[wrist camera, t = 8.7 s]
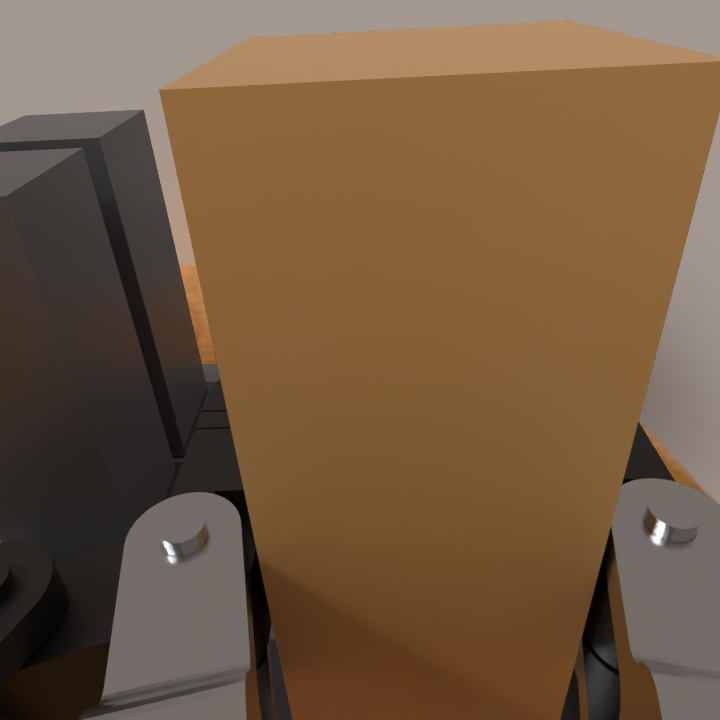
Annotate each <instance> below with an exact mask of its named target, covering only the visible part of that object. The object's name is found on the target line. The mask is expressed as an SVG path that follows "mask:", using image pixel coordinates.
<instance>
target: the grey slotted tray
mask: <svg viewBox="0 0 720 720" xmlns="http://www.w3.org/2000/svg"><path fill="white" fill-rule="evenodd" d="M219 379H220V375H219V370H218V365H217V364H204V365H202V363H201V359H200V355H199V350H198V346H197V341H196V337H195V333H194V328H193V324H192V320H191V315H190V311H189V306H188V302H187V298H186V293H185V289H184V285H183V280H182V276H181V271H180V267H179V263H178V258H177V254H176V250H175V245H174V241H173V237H172V232H171V228H170V223H169V219H168V215H167V210H166V206H165V202H164V197H163V193H162V189H161V184H160V180H159V175H158V171H157V167H156V162H155V158H154V153H153V149H152V145H151V141H150V136H149V131H148V127H147V123H146V118H145V114H144V110H129V111H109V112H89V113H69V114H51V115H50V114H49V115H29V116H23V117H21V118H19V119H16V120H14V121H11V122H9V123H7V124H5V125H2V126H0V542H5V541H13V540H23V541H30V542H34V543H36V544H39V545H41V546H42V547H43V548H45V549H46V550H47V551H48V553H49V555H50V556H51V558H52V560H53V562H54V564H58V563H61V562H65V561H68V560H72V559H75V558H78V557H82V556H85V555H89V554H92V553H96V552H99V551H103V550H106V549H109V548H112V547H115V546H117V545H119V544H122V543H124V542H125V540H126V537H127V535H128V533H129V531H130V529H131V527H132V526H133V525H134V523H135V522H136V521H137V520H138V519H139V518H140V516H141V515H143V514H144V513H145V512H146V511H147V510H149V509H150V508H152V507H153V506H155V505H156V504H158V503H160V502H162V501H164V500H166V499H168V498H169V497H170V495H171V492H172V489H173V486H174V484H175V481H176V478H177V476H178V473H179V470H180V467H181V465H182V462H183V459H184V457H185V454H186V451H187V448H188V446H189V443H190V440H191V438H192V435H193V433H194V432H195V427H196V424H197V421H198V419H199V416H200V415H202V411H201V410H202V408H203V405H204V402H205V400H206V397H207V394H208V391H209V389H210V388H211V387H212V386H213V385H214V384H215V383H216V382H217V381H218V380H219ZM268 644H269V649H270V656H271V666H272V676H273V687H274V697H275V707H276V717H277V720H292V715H291V710H290V706H289V701H288V696H287V691H286V687H285V682H284V677H283V673H282V668H281V663H280V658H279V654H278V649H277V644H276V639H275V635H274V630H273V625H272V624H271V631H270V638H269V642H268ZM560 720H581V717H580V704H579V690H578V677H577V663H576V661H575V665H574V669H573V673H572V677H571V680H570V684H569V688H568V692H567V696H566V699H565V703H564V707H563V711H562V715H561V718H560Z"/></svg>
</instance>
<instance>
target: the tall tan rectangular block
mask: <svg viewBox="0 0 720 720" xmlns="http://www.w3.org/2000/svg"><path fill="white" fill-rule="evenodd" d="M159 91H160V96H161V101H162V105H163V110H164V115H165V120H166V125H167V129H168V134H169V139H170V143H171V148H172V153H173V157H174V162H175V166H176V172H177V176H178V181H179V185H180V191H181V195H182V200H183V205H184V209H185V214H186V219H187V223H188V228H189V233H190V238H191V242H192V247H193V252H194V257H195V262H196V266H197V271H198V276H199V280H200V285H201V290H202V295H203V299H204V304H205V309H206V313H207V318H208V323H209V328H210V332H211V337H212V342H213V347H214V351H215V356H216V361H217V365H218V370H219V375H220V380H221V384H222V389H223V394H224V399H225V403H226V408H227V413H228V417H229V422H230V427H231V432H232V436H233V441H234V446H235V450H236V455H237V460H238V465H239V469H240V474H241V479H242V484H243V488H244V493H245V498H246V502H247V507H248V512H249V517H250V521H251V526H252V531H253V536H254V540H255V545H256V550H257V554H258V559H259V564H260V569H261V573H262V578H263V583H264V587H265V592H266V597H267V602H268V606H269V611H270V616H271V621H272V625H273V630H274V635H275V639H276V644H277V649H278V654H279V658H280V663H281V668H282V673H283V677H284V682H285V687H286V691H287V696H288V701H289V706H290V710H291V715H292V720H560V718H561V715H562V711H563V707H564V703H565V699H566V696H567V692H568V688H569V684H570V680H571V677H572V673H573V669H574V665H575V661H576V657H577V654H578V650H579V646H580V642H581V638H582V635H583V631H584V627H585V623H586V619H587V616H588V612H589V608H590V604H591V600H592V597H593V593H594V589H595V585H596V581H597V577H598V574H599V570H600V566H601V562H602V558H603V555H604V551H605V547H606V543H607V539H608V536H609V532H610V528H611V524H612V520H613V517H614V513H615V509H616V505H617V501H618V497H619V494H620V490H621V486H622V482H623V478H624V475H625V471H626V467H627V463H628V459H629V456H630V452H631V448H632V444H633V440H634V437H635V433H636V429H637V425H638V421H639V417H640V413H641V410H642V406H643V402H644V398H645V394H646V391H647V387H648V383H649V379H650V376H651V372H652V368H653V364H654V360H655V357H656V353H657V349H658V345H659V341H660V337H661V334H662V330H663V326H664V322H665V318H666V315H667V310H668V307H669V303H670V299H671V296H672V292H673V288H674V284H675V280H676V276H677V273H678V269H679V265H680V261H681V257H682V254H683V249H684V246H685V242H686V238H687V235H688V231H689V227H690V223H691V219H692V215H693V212H694V208H695V204H696V200H697V197H698V193H699V189H700V185H701V181H702V177H703V174H704V170H705V166H706V162H707V158H708V155H709V151H710V147H711V143H712V139H713V136H714V132H715V128H716V124H717V120H718V117H719V113H720V57H716V56H712V55H708V54H703V53H699V52H695V51H691V50H687V49H682V48H678V47H674V46H670V45H665V44H661V43H657V42H653V41H649V40H645V39H641V38H636V37H632V36H628V35H623V34H620V33H615V32H611V31H607V30H603V29H599V28H595V27H590V26H586V25H582V24H578V23H574V22H570V21H556V22H537V23H520V24H519V23H518V24H500V25H482V26H464V27H463V26H462V27H445V28H444V27H443V28H427V29H426V28H425V29H407V30H387V31H369V32H350V33H331V34H312V35H293V36H275V37H258V38H257V37H256V38H248V39H246V40H245V41H243V42H241V43H239V44H238V45H236V46H234V47H232V48H231V49H229V50H227V51H226V52H224V53H222V54H221V55H219V56H217V57H215V58H214V59H212V60H210V61H208V62H207V63H205V64H203V65H201V66H200V67H198V68H196V69H195V70H193V71H191V72H189V73H188V74H186V75H184V76H182V77H181V78H179V79H177V80H175V81H174V82H172V83H170V84H169V85H167V86H165V87H163V88H162V89H160V90H159Z"/></svg>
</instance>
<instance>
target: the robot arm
mask: <svg viewBox="0 0 720 720" xmlns="http://www.w3.org/2000/svg"><path fill="white" fill-rule="evenodd" d="M201 411H202V415H200V416H199V419H198V421H197V424H196V427H195V432H194V433H193V435H192V438H191V440H190V443H189V446H188V448H187V451H186V454H185V457H184V459H183V462H182V465H181V467H180V470H179V473H178V476H177V478H176V481H175V484H174V486H173V489H172V492H171V495H170V497H169V498H168V499H166V500H164V501H162V502H160V503H158V504H156V505H155V506H153V507H152V508H150V509H149V510H147V511H146V512H145V513H144V514H143V515H141V516H140V518H139V519H138V520H137V521H136V522H135V523H134V525H133V526H132V527H131V529H130V531H129V533H128V535H127V537H126V540H125V542H124V543H122V544H119V545H117V546H115V547H112V548H109V549H106V550H103V551H99V552H96V553H92V554H89V555H85V556H82V557H78V558H75V559H72V560H68V561H65V562H61V563H58V564H54V562H53V560H52V558H51V556H50V555H49V553H48V551H47V550H46V549H45V548H43V547H42V546H41V545H39V544H36V543H34V542H30V541H23V540H13V541H5V542H0V720H277V717H276V707H275V697H274V687H273V676H272V666H271V656H270V649H269V644H268V642H269V638H270V631H271V624H272V621H271V616H270V611H269V606H268V602H267V597H266V592H265V587H264V583H263V578H262V573H261V569H260V564H259V559H258V554H257V550H256V545H255V540H254V536H253V531H252V526H251V521H250V517H249V512H248V507H247V502H246V498H245V493H244V488H243V484H242V479H241V474H240V469H239V465H238V460H237V455H236V450H235V446H234V441H233V436H232V432H231V427H230V422H229V417H228V413H227V408H226V403H225V399H224V394H223V389H222V384H221V380H220V379H219V380H218V381H217V382H216V383H215V384H214V385H213V386H212V387H211V388H210V389H209V391H208V394H207V397H206V400H205V402H204V405H203V408H202V410H201ZM576 663H577V677H578V690H579V704H580V717H581V720H720V505H719V504H717V503H716V502H715V501H714V500H712V499H711V498H710V497H708V496H706V495H705V494H703V493H702V492H700V491H698V490H696V489H694V488H692V487H689V486H687V485H684V484H681V483H678V482H675V481H674V479H673V477H672V476H671V474H670V472H669V471H668V469H667V467H666V466H665V464H664V463H663V461H662V459H661V458H660V456H659V454H658V453H657V451H656V449H655V448H654V446H653V445H652V443H651V441H650V440H649V438H648V436H647V435H646V433H645V431H644V430H643V428H642V427H641V425H640V423H639V422H638V425H637V429H636V433H635V437H634V440H633V444H632V448H631V452H630V456H629V459H628V463H627V467H626V471H625V475H624V478H623V482H622V486H621V490H620V494H619V497H618V501H617V505H616V509H615V513H614V517H613V520H612V524H611V528H610V532H609V536H608V539H607V543H606V547H605V551H604V555H603V558H602V562H601V566H600V570H599V574H598V577H597V581H596V585H595V589H594V593H593V597H592V600H591V604H590V608H589V612H588V616H587V619H586V623H585V627H584V631H583V635H582V638H581V642H580V646H579V650H578V654H577V657H576Z"/></svg>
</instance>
